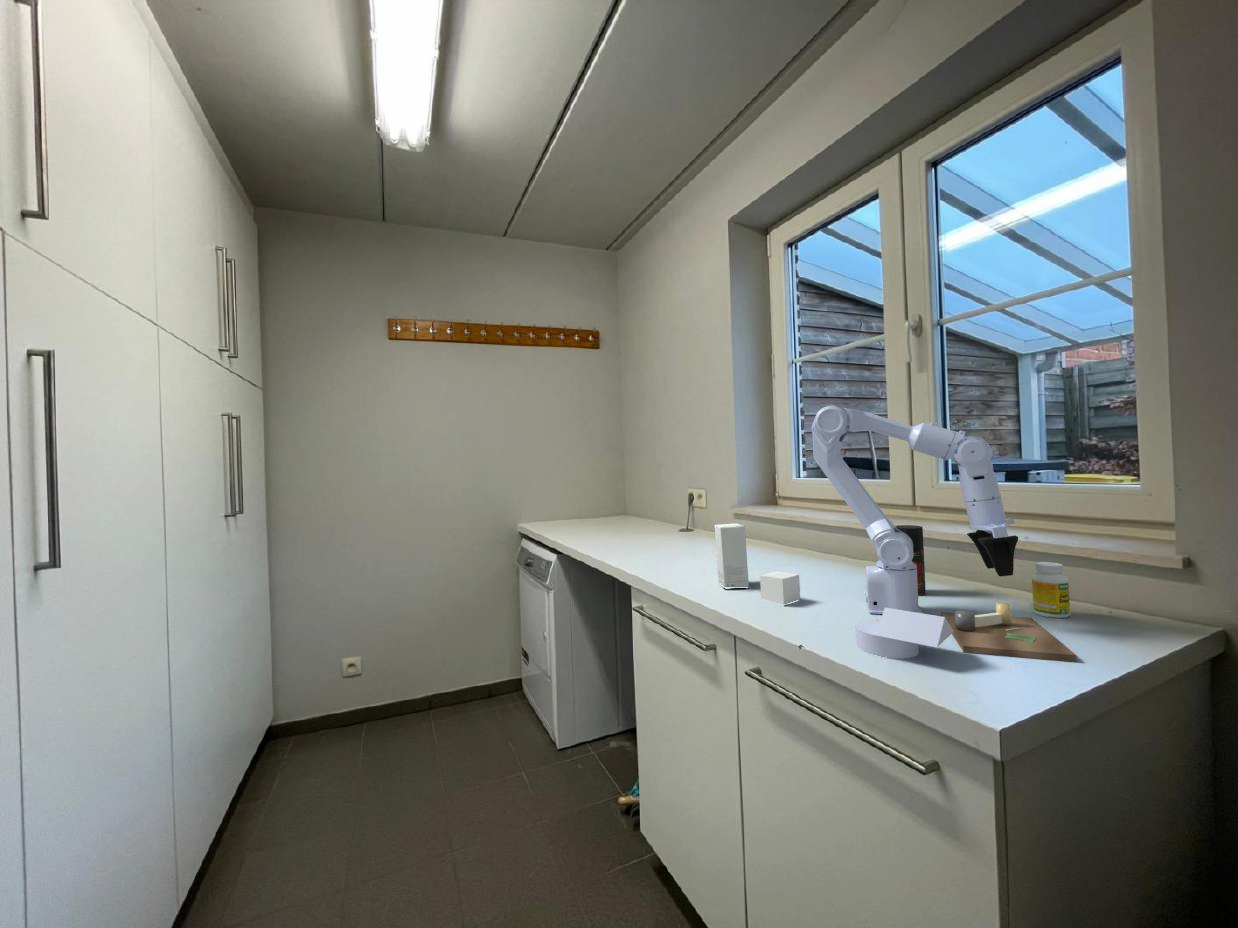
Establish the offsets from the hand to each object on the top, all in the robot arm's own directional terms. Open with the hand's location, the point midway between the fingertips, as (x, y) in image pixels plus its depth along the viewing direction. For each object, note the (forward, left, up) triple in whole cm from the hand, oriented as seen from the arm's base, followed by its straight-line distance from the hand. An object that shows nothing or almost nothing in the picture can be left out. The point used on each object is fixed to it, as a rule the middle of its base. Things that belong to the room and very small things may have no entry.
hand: (999, 571), depth 95 cm
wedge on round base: (-19, -22, -9) cm, 30 cm away
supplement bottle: (+9, +6, -9) cm, 14 cm away
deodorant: (-13, +18, -9) cm, 24 cm away
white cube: (-40, +4, -9) cm, 41 cm away
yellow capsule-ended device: (-5, -9, -8) cm, 13 cm away
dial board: (-3, -11, -9) cm, 14 cm away
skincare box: (-53, +16, -9) cm, 56 cm away
